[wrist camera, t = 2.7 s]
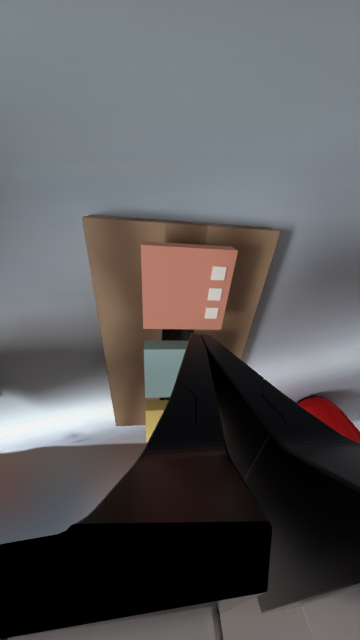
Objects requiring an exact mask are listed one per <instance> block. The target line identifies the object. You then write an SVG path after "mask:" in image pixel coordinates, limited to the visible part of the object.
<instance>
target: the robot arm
mask: <svg viewBox="0 0 360 640" xmlns="http://www.w3.org/2000/svg"><path fill="white" fill-rule="evenodd" d="M255 597H257V598H258V602H259V606H260V609H261V612H262V613H266V612H271V611H278V610H284V609H290V608H296V607H302V609H303V611H304V614H305V617H306V620H307V623H308V626H309V628H310V631H311V634H312V637H313V640H360V443H358V442H355V441H353V440H351V439H349V438H347V437H345V436H344V435H342V434H340V433H339V432H337V431H336V430H334V429H333V428H331V427H330V426H328V425H327V424H325V423H324V422H323V421H321V420H320V419H318V418H317V417H315V416H314V415H313V414H311V413H310V412H308V411H307V410H305V409H304V408H302V407H301V406H300V405H298V404H297V403H295V402H294V401H293V400H291V399H290V398H288V397H287V396H286V395H284V394H283V393H282V392H280V391H279V390H278V389H277V388H275V387H274V386H273V385H271V384H270V383H269V382H268V381H267V380H265V379H264V378H263V377H261V376H260V375H259V374H258V373H257V372H255V371H254V370H253V369H252V368H250V367H249V366H248V365H247V364H245V363H244V362H243V361H242V360H241V359H239V358H238V357H237V356H236V355H234V354H233V353H232V352H231V351H229V350H228V349H227V348H226V347H224V346H223V345H222V344H221V343H220V342H218V341H217V340H216V339H215V338H213V337H212V336H211V335H210V334H191V335H190V338H189V341H188V344H187V347H186V350H185V353H184V356H183V360H182V363H181V366H180V369H179V372H178V375H177V378H176V382H175V384H174V388H173V390H172V393H171V396H170V399H169V401H168V403H167V405H166V407H165V409H164V412H163V414H162V415H161V417H160V419H159V421H158V423H157V425H156V427H155V429H154V431H153V433H152V435H151V437H150V439H149V441H148V443H147V444H146V446H145V448H144V450H143V452H142V453H141V455H140V456H139V458H138V459H137V461H136V462H135V463H134V464H133V465H132V467H131V468H130V469H129V470H128V471H127V472H126V474H124V476H123V477H122V478H121V479H120V480H119V481H118V482H117V484H116V485H115V486H114V487H113V488H112V489H111V491H110V492H109V493H108V494H107V495H106V496H105V497H104V498H103V499H102V501H101V502H100V503H99V504H98V505H97V506H96V507H95V509H94V510H92V512H90V514H88V515H87V516H86V517H85V518H83V519H82V520H80V521H79V522H77V523H75V524H73V525H71V526H70V527H69V528H68V529H67V530H66V531H64V532H62V533H60V534H57V535H52V536H45V537H40V538H34V539H29V540H23V541H17V542H11V543H6V544H1V545H0V640H223V633H222V627H221V620H220V614H221V613H223V612H225V611H228V610H230V609H232V608H234V607H236V606H238V605H240V604H242V603H244V602H247V601H249V600H251V599H253V598H255Z"/></svg>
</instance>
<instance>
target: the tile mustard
mask: <svg viewBox="0 0 360 640" xmlns="http://www.w3.org/2000/svg"><path fill="white" fill-rule="evenodd" d="M169 399H170V398H168V399H166V400H147V401H146V442H148V441H149V439H150V437H151V435H152V433H153V431H154V429H155V427H156V425H157V423H158V421H159V419H160V417H161V415H162V414H163V412H164V409H165V407H166V405H167V403H168V401H169Z"/></svg>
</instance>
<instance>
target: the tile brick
mask: <svg viewBox="0 0 360 640" xmlns="http://www.w3.org/2000/svg"><path fill="white" fill-rule="evenodd" d="M237 253H238V250H237V249H235V248H234V247H231V246H215V245H198V244H182V243H165V242H149V241H142V243H141V269H142V304H143V329H203V330H221V327H222V322H223V318H224V313H225V308H226V304H227V299H228V295H229V290H230V285H231V281H232V276H233V272H234V267H235V262H236V258H237Z"/></svg>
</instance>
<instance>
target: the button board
mask: <svg viewBox="0 0 360 640" xmlns="http://www.w3.org/2000/svg"><path fill="white" fill-rule="evenodd" d="M82 221H83V227H84V233H85V239H86V245H87V251H88V257H89V263H90V269H91V275H92V281H93V288H94V294H95V300H96V306H97V312H98V318H99V324H100V330H101V336H102V342H103V348H104V355H105V361H106V367H107V373H108V379H109V385H110V391H111V397H112V403H113V409H114V415H115V422H116V426H132V425H146V401H147V400H160V398H145V374H144V343H145V340H162V329H143V304H142V269H141V243H142V241H149V242H165V243H182V244H198V245H215V246H231V247H234V248H235V249H237V250H238V253H237V258H236V262H235V267H234V272H233V276H232V281H231V285H230V290H229V295H228V299H227V304H226V308H225V313H224V318H223V322H222V327H221V330H203V329H190V334H189V338H190V335H191V334H210V335H211V336H212V337H213V338H215V339H216V340H217V341H218V342H220V343H221V344H222V345H223V346H224V347H226V348H227V349H228V350H229V351H231V352H232V353H233V354H234V355H236V356H237V357H238V358H239V359H241V358H242V354H243V351H244V348H245V345H246V342H247V338H248V335H249V332H250V329H251V325H252V322H253V319H254V316H255V313H256V309H257V306H258V303H259V300H260V296H261V293H262V290H263V287H264V284H265V280H266V277H267V274H268V271H269V267H270V264H271V261H272V258H273V255H274V251H275V248H276V245H277V242H278V239H279V235H280V232H281V231H278V230H274V229H270V228H263V227H249V226H235V225H222V224H208V223H194V222H181V221H167V220H153V219H140V218H126V217H112V216H98V215H89V216H85V217H82Z"/></svg>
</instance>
